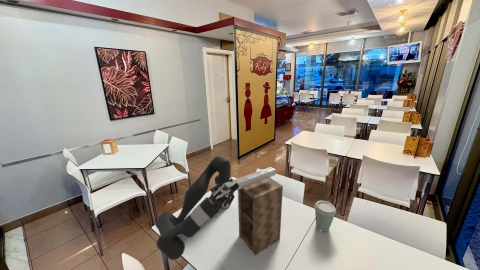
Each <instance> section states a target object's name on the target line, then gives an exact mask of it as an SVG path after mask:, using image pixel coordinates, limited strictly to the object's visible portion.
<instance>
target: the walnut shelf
mask: <svg viewBox="0 0 480 270" xmlns="http://www.w3.org/2000/svg"><path fill="white" fill-rule="evenodd" d="M283 188H284V185H283V184H281V183H280V182H278V181H276V180H275V179H273V178H272V177H269V178H267V179H264V180H262V181H259V182H256V183H254V184H251V185H249V186H246V187H244V188H241V189H239V190H237V203H238V205H237V207H238V236H239V238H240V239H241V240H242V241H243V243H244V244H245V245H246V246H247V247H248V249H249V250H250V251H251V252H252V254H254V256H256V255H258V254H259V253H261V252H263V251H264V250H266V249H268V248H269V247H270V246H272V245H274V244H275V243H277V242H279V241H280V240H281V228H282V227H281V226H282V225H281V224H282V207H283V190H284V189H283Z"/></svg>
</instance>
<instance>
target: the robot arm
mask: <svg viewBox="0 0 480 270" xmlns="http://www.w3.org/2000/svg"><path fill="white" fill-rule="evenodd" d="M231 167H232V164H231V162H230V160H229V159H227V158H225V157H223V156H220V155H218V156H214V158H213V159H211V161H210V162H209V164H208V165H207V167H206V168H205V169H204V171H203V172H202V173H201V174H200V175H199V176H198V178H196V179H195V181H194V182H193V183H192V184H191V186H190V187H189V188H188V189H187V190H186V191H185V195H184V199H183V205H182V208H181V211H180V213H179V215H178V216H177V217H176V216H175V215H174V214H173V213H172V212H170V211H163V212H162V213H161V214H160V215H159V216H158V218H157V219H156V220H155V222H154V223H155V224H154V225H155V227H156V229H157V230H158V232H159V235H160V236H159V237H158V239H157V240H156V247H157V248H158V249H159V251H160V252H161V253H162V254H163V255H165V257H167V259H168V260H170V261H175V260H178V259H180V257H182V255H183V254H184V252H185V247H186V243H185V241H184V240H183V238H181V236H180V235H182V236H185V237H187V238H188V239H189V238H190V239H192V238H193V237H194V236H195V235H196V234H197V233H198V232H199V231H200V230H201V229H202V228H204V226H206V225H207V224H208V223H209V222H210V221H211V219H213V218H214V217H215V216H216V215H217V214H218V213H219V212H220V209H221V210H225V209H226V210H228V209H229V208H230V207H231V205H232V202H233V201H234V199H235V194H234V193H235V192H236V191H238V190H237V189H238V188H239V185H238V183H235V184H234V185H233V186H232V187H231V188H230V189H229V190H228V191H226V190H225V189H224V183H227V182H230V181H232V180H234V179H233V178H231V175H232V174H231V170H232V169H231ZM216 172H217V173H218V175H216V176H215V177H214V186H213V187H211V188H210V189H209V187H210V185H209V184H210V182H211V179H212V177H213V176H214V175H215V174H216ZM208 190H209V191H210V192H211V194H210V196H209V197H205V198H204V199H203V197H204V196H205V195H206V194H207V192H208ZM202 199H203V200H202ZM201 200H202V201H201ZM200 201H201V202H200ZM199 202H200V203H199ZM196 205H197V206H196ZM194 207H195V208H194Z"/></svg>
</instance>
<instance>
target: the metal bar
mask: <svg viewBox="0 0 480 270" xmlns="http://www.w3.org/2000/svg"><path fill="white" fill-rule="evenodd" d="M276 172H277V171H276V168H274V167H272V166H268V167H266V168H264V169H260V170H258V171H255V172H252V173H249V174H247V175H244V176H241V177H238V178H236V179H233V180H232V181H230V182H227V183H224V189H225V190H226V191H228V190H229V189H230V188H231V187H232V186H233V185H234V184H235V183H238V185H239V188H238V189H237V190H236V191H238V190H239V189H241V188H244V187H246V186H249V185H251V184H254V183H256V182H259V181H262V180H264V179H267V178H269V177H270V178H272V177H274V176H276Z"/></svg>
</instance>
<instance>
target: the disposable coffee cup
mask: <svg viewBox="0 0 480 270" xmlns="http://www.w3.org/2000/svg"><path fill="white" fill-rule="evenodd" d="M314 214H315V227H316V229H317V228H318V229H319V230H321V231H327V232H328V231H329V230H330V227H331V226H332V223H333V220H334V218H335V216H336V214H337V209H336V207H335V206H334V205H333V204H332V203H330V202H329V201H327V200H318V201H316V202H315V203H314ZM318 229H317V230H318ZM319 230H318V231H319ZM321 231H320V232H321Z"/></svg>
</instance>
